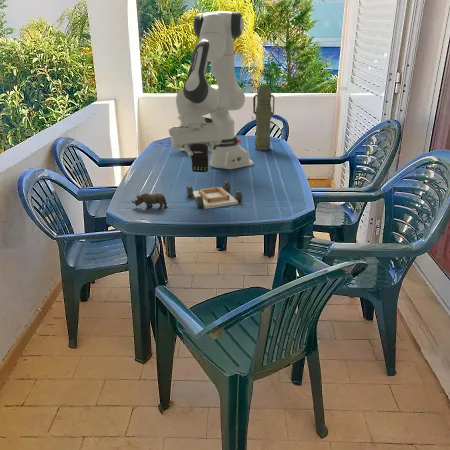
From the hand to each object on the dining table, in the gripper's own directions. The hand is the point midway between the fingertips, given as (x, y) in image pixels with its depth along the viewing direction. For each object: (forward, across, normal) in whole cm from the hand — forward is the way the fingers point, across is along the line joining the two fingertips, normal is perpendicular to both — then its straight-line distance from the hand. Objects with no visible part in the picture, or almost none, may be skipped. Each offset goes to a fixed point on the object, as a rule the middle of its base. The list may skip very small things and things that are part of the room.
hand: (201, 154), depth 173 cm
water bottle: (-44, +17, +70) cm, 85 cm away
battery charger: (+4, 0, +6) cm, 7 cm away
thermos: (-33, +58, +60) cm, 90 cm away
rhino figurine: (+15, -22, +12) cm, 29 cm away
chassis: (+14, +4, +11) cm, 19 cm away
